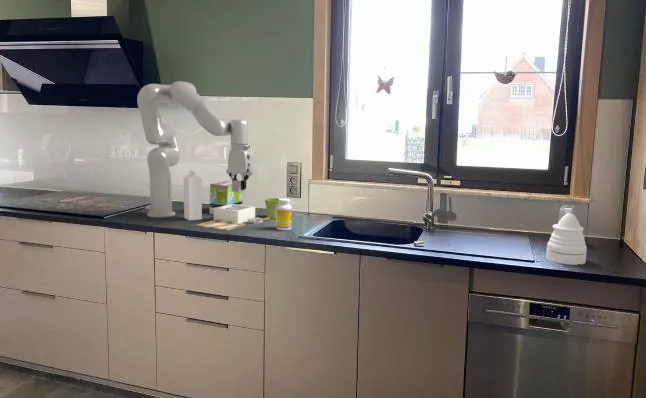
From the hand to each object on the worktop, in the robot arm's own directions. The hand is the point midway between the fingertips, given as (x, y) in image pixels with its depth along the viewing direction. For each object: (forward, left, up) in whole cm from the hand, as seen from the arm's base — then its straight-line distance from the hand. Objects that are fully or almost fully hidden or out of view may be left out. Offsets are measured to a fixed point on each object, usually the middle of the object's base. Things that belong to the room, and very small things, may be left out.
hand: (239, 188), depth 243 cm
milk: (-20, -8, -15) cm, 26 cm away
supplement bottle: (+25, -3, -15) cm, 30 cm away
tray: (0, -14, -15) cm, 20 cm away
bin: (-3, 0, -15) cm, 15 cm away
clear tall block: (+132, +37, -15) cm, 138 cm away
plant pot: (+8, +16, -15) cm, 23 cm away
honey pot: (+134, +9, -15) cm, 136 cm away
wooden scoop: (+9, +3, -15) cm, 18 cm away
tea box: (-18, +14, -15) cm, 27 cm away
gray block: (0, -1, -2) cm, 2 cm away
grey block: (-5, +1, -14) cm, 15 cm away
